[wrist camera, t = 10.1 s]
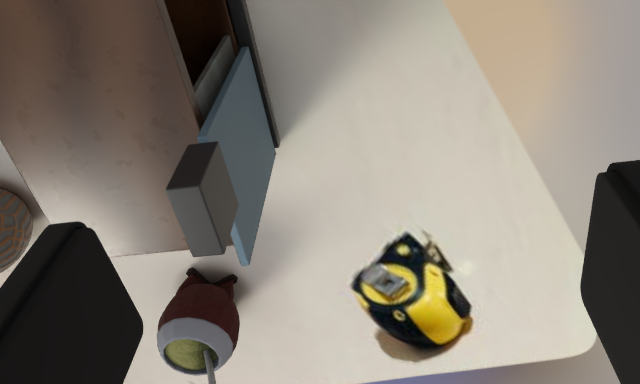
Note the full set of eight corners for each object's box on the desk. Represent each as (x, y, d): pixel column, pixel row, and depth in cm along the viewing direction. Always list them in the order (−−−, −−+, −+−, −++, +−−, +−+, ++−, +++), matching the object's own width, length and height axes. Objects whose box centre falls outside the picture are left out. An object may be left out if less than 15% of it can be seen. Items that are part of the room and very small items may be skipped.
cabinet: (215, -120, 31) (151, -90, 22) (280, 142, 42) (256, 243, 32) (30, -83, 33) (-107, -40, 23) (135, 160, 43) (71, 261, 34)
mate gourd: (160, 280, 51) (99, 427, 39) (221, 246, 48) (175, 393, 36) (212, 324, 54) (171, 472, 42) (272, 295, 52) (246, 445, 39)
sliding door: (256, 44, 36) (197, 179, 23) (283, 153, 41) (247, 316, 27) (233, 48, 36) (161, 184, 23) (262, 155, 41) (217, 319, 28)
